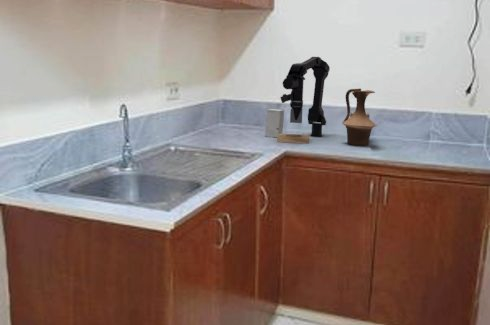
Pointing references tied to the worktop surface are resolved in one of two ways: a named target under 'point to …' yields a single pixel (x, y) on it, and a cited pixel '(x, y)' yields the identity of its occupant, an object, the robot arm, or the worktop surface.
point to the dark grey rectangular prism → (292, 118)
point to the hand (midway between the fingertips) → (296, 119)
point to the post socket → (293, 138)
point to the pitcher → (358, 119)
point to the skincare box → (274, 122)
